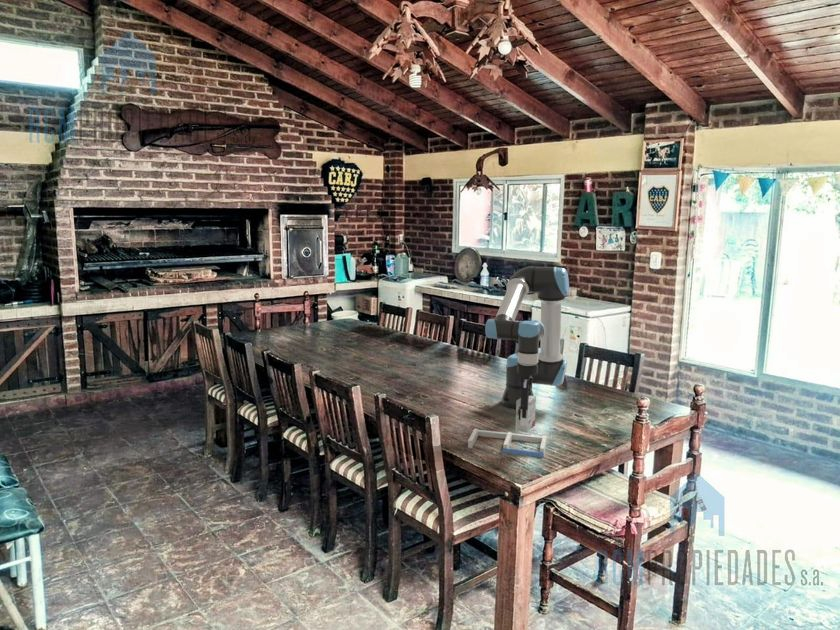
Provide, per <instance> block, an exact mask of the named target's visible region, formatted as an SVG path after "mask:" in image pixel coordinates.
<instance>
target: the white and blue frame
mask: <svg viewBox="0 0 840 630" xmlns="http://www.w3.org/2000/svg"><path fill="white" fill-rule="evenodd" d="M479 437H484V438H492V439H493V438H494V439H495V438H496V439H502V440H503V439H504V442H503V447H502V453H503V454H510V455H511V454H512V455H519V456H520V455H522V456H532V457H538V458H539V457H540V458H545V453H546V447H547V442H548V436H547V435H531V434H522V433H513V432H512V431H508V432H504V431H494V430H483V429H479V428H473V431H472V432H471V434H470V436H469V438H468V440H467V448H468V449H473V447H474V445H475V443H476V441H477V439H478V438H479ZM512 441H525V442H530V443H531V442H533V443H540V446H539V451H535V450H527V449H517V448H510V445H511V443H512Z"/></svg>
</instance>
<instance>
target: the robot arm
mask: <svg viewBox="0 0 840 630" xmlns="http://www.w3.org/2000/svg"><path fill="white" fill-rule="evenodd" d="M505 288H506V292H505V294H504V297H503V299H502V301H501V304H500V306H499V308H498V311H497V313H496V316H495V318H488V319H487V320H486V322H485V326H484V328H485V331H484V332H485V336H486V338H488V339H494V340H505V341H506V340H507V341H517V353H513V354H510V355H509V356H508V357H507V359H506V366H505V367H506V368H505V369H506V371H505V388H504V391H503V393H502V397H501V405H503V406H505V407H508V408H512V409H516V401H517V400H518V399H520V398H521V406H520V407H519V409H521V417H520V426H528V401H529V396H535V395H534V392H533V384H536V385H544V386H551V387H552V386H557V387H560V386H562V384H563V383H564V381H565V376H566V370H567V364H568V361H567V360H564V355H563V354H562V353H561V330H562V329H561V328H562V327H561V326H562V325H561V324H562V302H563V301H564V300H565V299H566V296H568V295H569V293H570V292H569V291H570V279H569V275H568V271H567V269H566V268H564V267H557V266H533V265H532V266H525V267H523V268H521V269H519V270H518V271H515V273H514V274H512V276H511V277H510V278H509V279H508V281H507V283H506V287H505ZM528 294H537V299H538V301H540V320H536V319H535V320H516V318H517V316H518V313H519V311H520V308H521V305H522V302H523V301H524V297H526V296H527V295H528ZM539 345H540V346H539ZM539 349H540V350H539ZM539 351H540V352H539Z"/></svg>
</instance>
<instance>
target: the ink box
mask: <svg viewBox="0 0 840 630" xmlns="http://www.w3.org/2000/svg"><path fill="white" fill-rule="evenodd" d="M536 403H537V396H535V395H534V396H529V401H528V426H520V417H521V409H519V407H520V406H521V398H520V399H518V400H517V401H516V408H515V431H518V432H522V433H529V431H530V430H531V429H533V428H534V427H536V409H537V408H536V407H537V405H536Z"/></svg>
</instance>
